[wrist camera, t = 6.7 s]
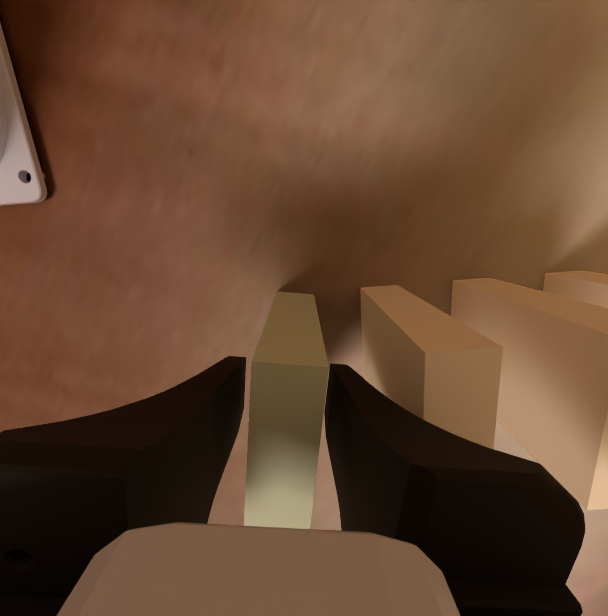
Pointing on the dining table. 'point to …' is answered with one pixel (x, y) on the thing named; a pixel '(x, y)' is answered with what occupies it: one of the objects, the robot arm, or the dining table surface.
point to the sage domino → (286, 414)
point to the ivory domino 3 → (579, 286)
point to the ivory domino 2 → (548, 377)
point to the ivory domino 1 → (430, 363)
